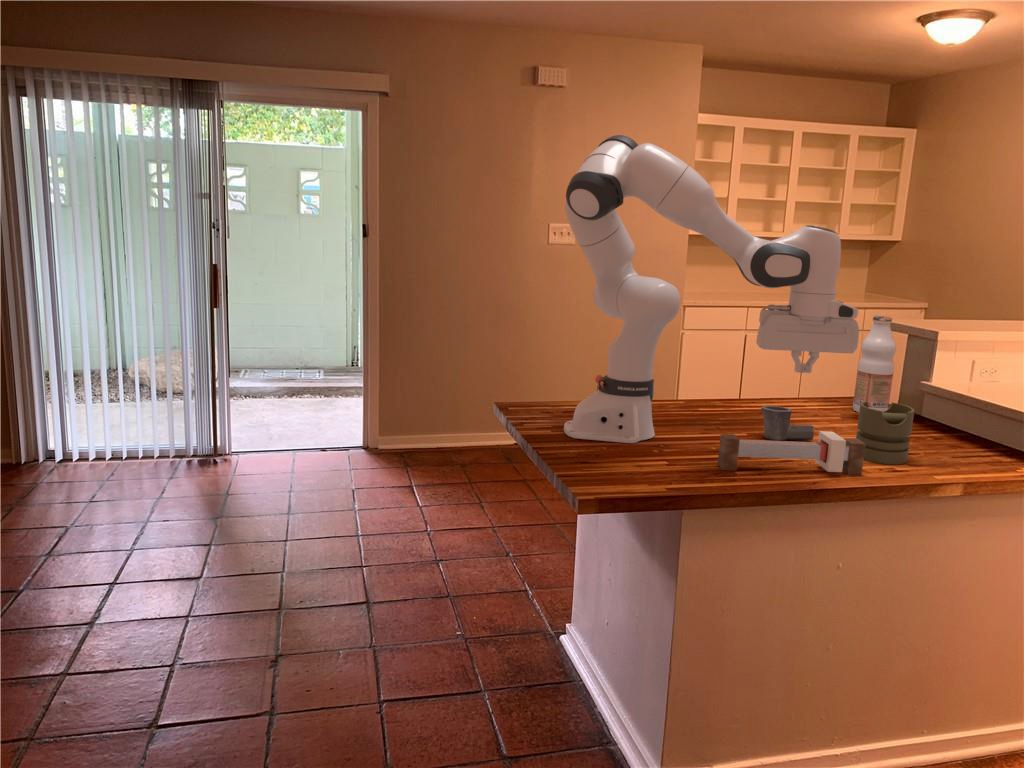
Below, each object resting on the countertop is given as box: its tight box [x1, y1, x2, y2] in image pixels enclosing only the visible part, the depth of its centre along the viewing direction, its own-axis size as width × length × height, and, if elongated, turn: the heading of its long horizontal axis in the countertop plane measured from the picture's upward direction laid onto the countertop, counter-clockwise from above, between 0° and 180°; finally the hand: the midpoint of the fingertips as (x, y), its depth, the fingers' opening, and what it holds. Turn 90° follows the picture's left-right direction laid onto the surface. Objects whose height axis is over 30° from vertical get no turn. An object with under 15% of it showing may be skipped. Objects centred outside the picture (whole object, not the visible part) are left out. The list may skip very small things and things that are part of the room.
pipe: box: [760, 405, 815, 441], centre depth 192 cm, size 6×13×8 cm, turn 78°
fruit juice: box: [852, 315, 897, 414], centre depth 223 cm, size 9×9×28 cm
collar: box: [814, 430, 846, 473], centre depth 168 cm, size 3×7×7 cm, turn 0°
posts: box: [717, 433, 866, 476], centre depth 168 cm, size 30×4×7 cm, turn 90°
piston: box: [855, 401, 916, 465], centre depth 179 cm, size 11×12×11 cm
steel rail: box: [738, 439, 850, 461], centre depth 168 cm, size 28×3×3 cm, turn 90°
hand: (802, 372), depth 163 cm, fingers closed
